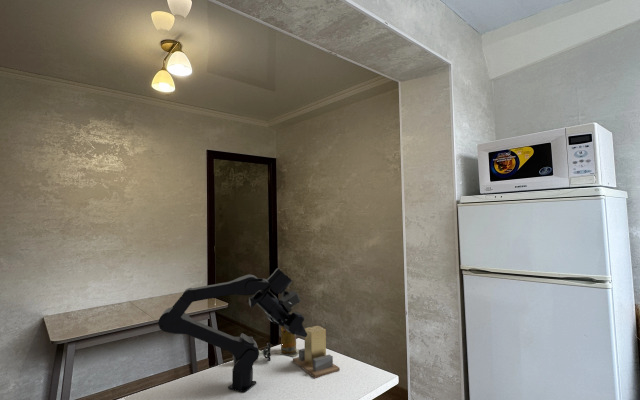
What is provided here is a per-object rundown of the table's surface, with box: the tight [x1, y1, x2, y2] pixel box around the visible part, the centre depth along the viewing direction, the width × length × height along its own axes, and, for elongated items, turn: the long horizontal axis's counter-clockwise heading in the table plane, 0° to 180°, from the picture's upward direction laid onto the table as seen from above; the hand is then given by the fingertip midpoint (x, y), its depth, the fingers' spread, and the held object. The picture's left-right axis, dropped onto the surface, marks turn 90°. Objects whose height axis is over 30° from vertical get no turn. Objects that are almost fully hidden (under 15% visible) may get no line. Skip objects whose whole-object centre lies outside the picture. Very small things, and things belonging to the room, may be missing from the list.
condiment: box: [276, 326, 300, 358], centre depth 130 cm, size 7×8×12 cm
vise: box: [292, 347, 340, 379], centre depth 117 cm, size 16×10×4 cm, turn 32°
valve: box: [258, 342, 272, 362], centre depth 120 cm, size 7×7×12 cm
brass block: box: [304, 325, 327, 367], centre depth 117 cm, size 6×5×12 cm
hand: (299, 332), depth 112 cm, fingers open, 9 cm apart
